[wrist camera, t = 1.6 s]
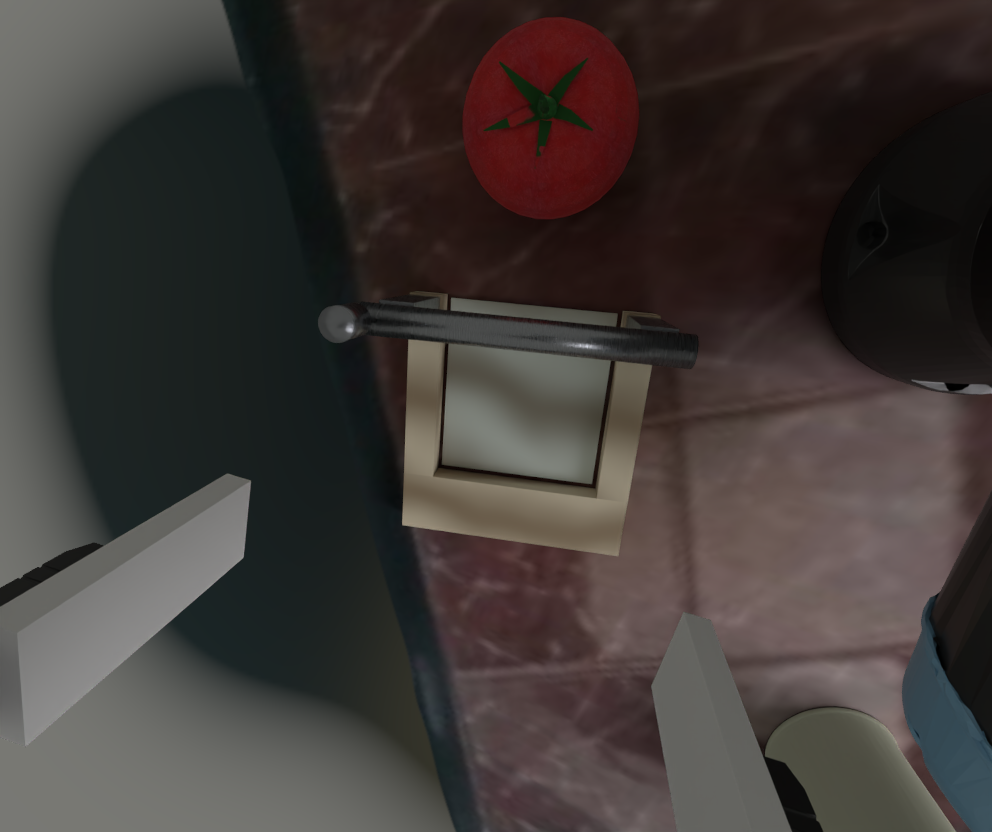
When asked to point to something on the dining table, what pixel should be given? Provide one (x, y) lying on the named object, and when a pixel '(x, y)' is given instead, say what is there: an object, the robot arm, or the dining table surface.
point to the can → (854, 773)
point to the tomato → (550, 118)
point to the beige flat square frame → (521, 437)
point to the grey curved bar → (511, 332)
